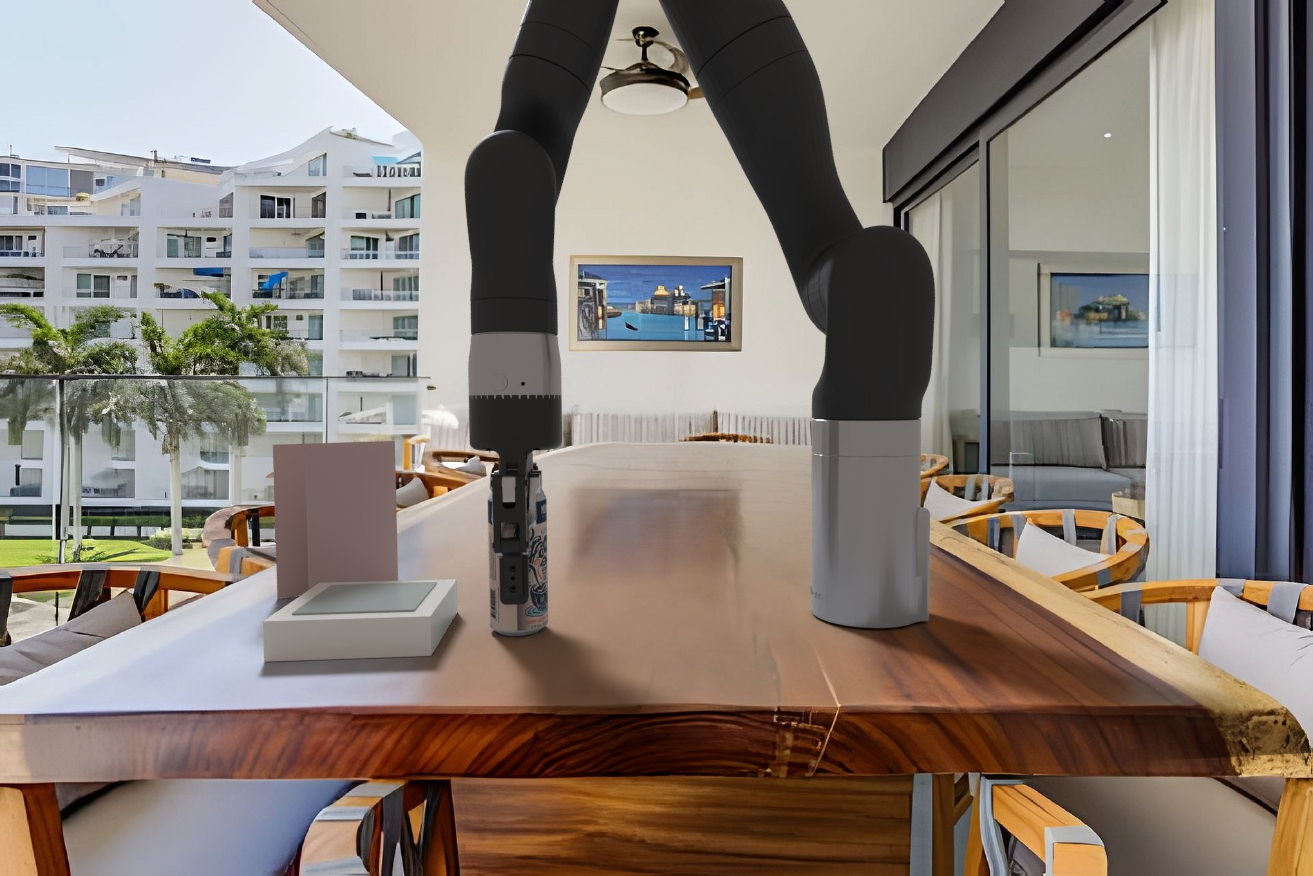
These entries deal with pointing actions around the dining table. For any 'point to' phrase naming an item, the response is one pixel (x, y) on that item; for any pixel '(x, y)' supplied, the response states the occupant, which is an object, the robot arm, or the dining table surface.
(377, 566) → the greeting card
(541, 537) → the beer can
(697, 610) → the dining table surface
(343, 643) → the picture frame
